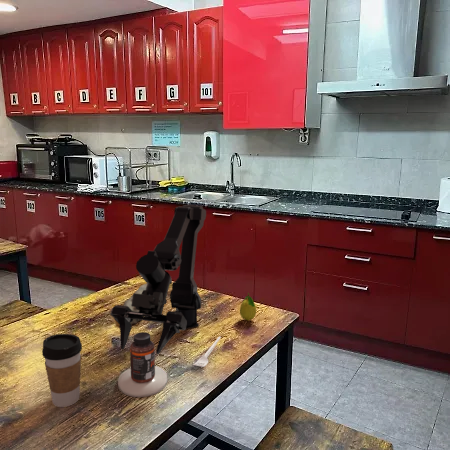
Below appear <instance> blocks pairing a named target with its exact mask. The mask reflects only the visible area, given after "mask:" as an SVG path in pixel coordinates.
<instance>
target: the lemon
mask: <svg viewBox="0 0 450 450" xmlns="http://www.w3.org/2000/svg"><path fill="white" fill-rule="evenodd" d="M239 314H240V316H241V318H242V319H244V321H245V320H246V321H247V322H249V321H251V320H253V319H254V318H255V317H256V314H257V306H256V304H255V302H254V299H253V298H252V296H250V293H249V292H247V295H245V298H244V299H243V300H242V302H241V304H240V306H239Z"/></svg>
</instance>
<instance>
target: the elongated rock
mask: <svg viewBox="0 0 450 450" xmlns="http://www.w3.org/2000/svg"><path fill="white" fill-rule="evenodd" d="M146 287H147V282H145V284H142V285H140V286H139V287H138V289H136V291H134V293H135V294H142V292H143V290H146ZM132 298H133V294H132V295H131V297H128V299H126V300H125V301H124V302H123V305H122V306H128V307H129V308H130V309H131V310H132V311H134V312H139V310H137V309H136V307H132V306H131V304H132ZM142 317H144V316H142ZM139 321H140V320H136V319H133V321H132V322H131V324H132V325H133V324H137V323H139Z"/></svg>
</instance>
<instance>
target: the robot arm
mask: <svg viewBox="0 0 450 450" xmlns="http://www.w3.org/2000/svg"><path fill="white" fill-rule="evenodd" d="M206 217H207V210H206V209H205V208H204V206H203V205H193V204H192V205H191V204H183V205H182V206H180V205H179V206H175V209H174V213H173V217H172V220H171V223H170V225H169V226H168V227H169V228H168V230H167V232H166V235H165V236H164V239H163V240H162V241H161V242H158V243H157V244H156V246H155V247H154V249H153V250H148V251H147V254H144V255H142V256H141V257H140V258H138V260H136V263H135V264H136V265H135V268H136V271H137V272H138V274H139V275H140V276H141V277H142V279H143V280H144V282H145V283H147V287H146V290H143V292H142V294H135V292H133V293H132V295H133V298H132V304H131V306H132V307H136V309H137V310H139V312H134V311H132V310H131V309H130V308H129V307H128V306H123V305H120V304H116V305H114V306H113V307H112V308H111V311H110V316H111V317H112V318H113V319H114V320H115V321H116V322H117V323H118V325H119V333H120V335H119V337H120V348H121V350H124V349H126V345H127V343H128V340H129V337H130V334H131V331H132V329H133V324H131V322H132V321H133V319H136V320H139V321H146V322H153V323H154V322H155V323H161V324H162V331H161V334H160V336H159V339H158V340H159V341H158V343H157V347H156V349H155V350H156V351H155V354H156V355H159V354H160V353H161V352H162V351H163V349H164V348H165V346H166V345H167V344H168V343H169V341H170V340H171V339H172V338H174V336H175V335H176V334H180V332H181V331H186V330H187V329H192V328H198V327H200V325H199V323H198V310H201V309H202V298H201V296H200V294H199V292H198V285H197V283H196V280H195V278H194V275H195V266H196V265H195V263H196V253H197V245H198V233H199V232H200V231H201V230H202V229H203V227H204V223H205V220H206ZM180 247H181V251H180ZM178 268H179V271H178V272H179V273H178V277H177V279H175V281H172V276H171V274H170V273H169V272H168V271H176V270H178ZM171 284H172V285H171ZM170 285H171V290H170V294H169V300H170V305H171V308H172V309H175V311H172V310H168V311H167V312H166V314H163V311H164V308H165V307H164V306H165V305H166V304H167V301H168V300H167V296H168V293H169V288H170ZM142 316H144V317H142Z"/></svg>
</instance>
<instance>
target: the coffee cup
mask: <svg viewBox="0 0 450 450" xmlns="http://www.w3.org/2000/svg"><path fill="white" fill-rule="evenodd" d="M82 349H83V344H82V342H81V338H80V337H79V336H78V335H75V334H71V333H70V334H69V333H59V334H53V335H49V336H48V337H46V338H45V339H44V340H43V342H42V351H41V353H42V354H41V355H42V357H43V358H44V367H45V370H46V376H47V381H48V386H49V389H50V396H51V401H52V405H54V406H55V407H58V408H64V407H69V406H72V405H74V404H76V403H77V402H78V400H80V397H81V396H80V394H81V393H80V391H81V390H80V389H81V386H80V385H81V372H82V371H81V369H82V367H81V366H82V355H81V351H82Z"/></svg>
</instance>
